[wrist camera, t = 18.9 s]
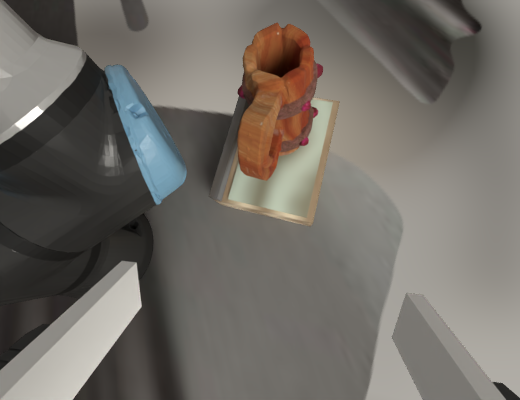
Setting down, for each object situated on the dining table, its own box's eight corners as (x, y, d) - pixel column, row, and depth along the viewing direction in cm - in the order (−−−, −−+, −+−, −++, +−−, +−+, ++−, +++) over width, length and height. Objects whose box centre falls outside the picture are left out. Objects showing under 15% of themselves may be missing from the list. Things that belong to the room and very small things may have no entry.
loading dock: (221, 204, 38) (208, 196, 32) (251, 103, 41) (244, 78, 35) (310, 226, 36) (313, 221, 30) (335, 116, 39) (342, 92, 33)
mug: (266, 98, 36) (248, -6, 22) (320, 109, 35) (340, 5, 20) (234, 189, 34) (191, 142, 19) (291, 206, 32) (290, 168, 18)
